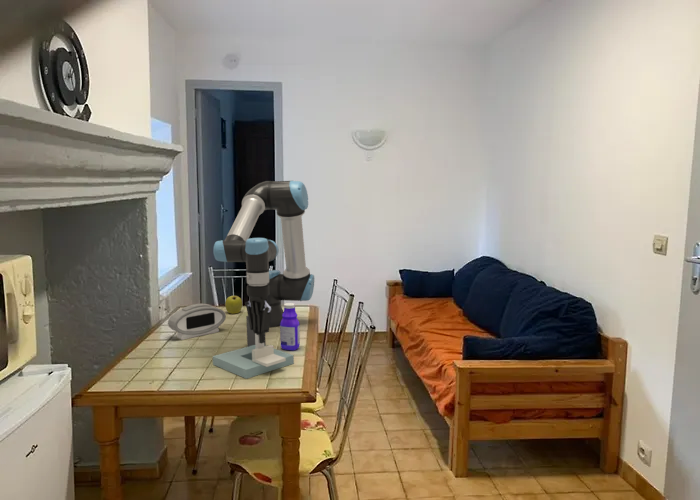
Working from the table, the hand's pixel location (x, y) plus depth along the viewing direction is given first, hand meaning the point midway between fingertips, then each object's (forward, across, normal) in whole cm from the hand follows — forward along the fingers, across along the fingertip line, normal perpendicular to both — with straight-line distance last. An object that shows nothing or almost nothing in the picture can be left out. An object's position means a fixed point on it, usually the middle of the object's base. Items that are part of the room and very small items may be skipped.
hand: (260, 351), depth 190 cm
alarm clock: (+6, -51, +6) cm, 52 cm away
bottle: (+6, -8, +20) cm, 23 cm away
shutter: (+2, +5, 0) cm, 5 cm away
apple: (+6, -72, +37) cm, 81 cm away
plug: (+6, -20, +13) cm, 25 cm away
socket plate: (+6, -4, 0) cm, 7 cm away
